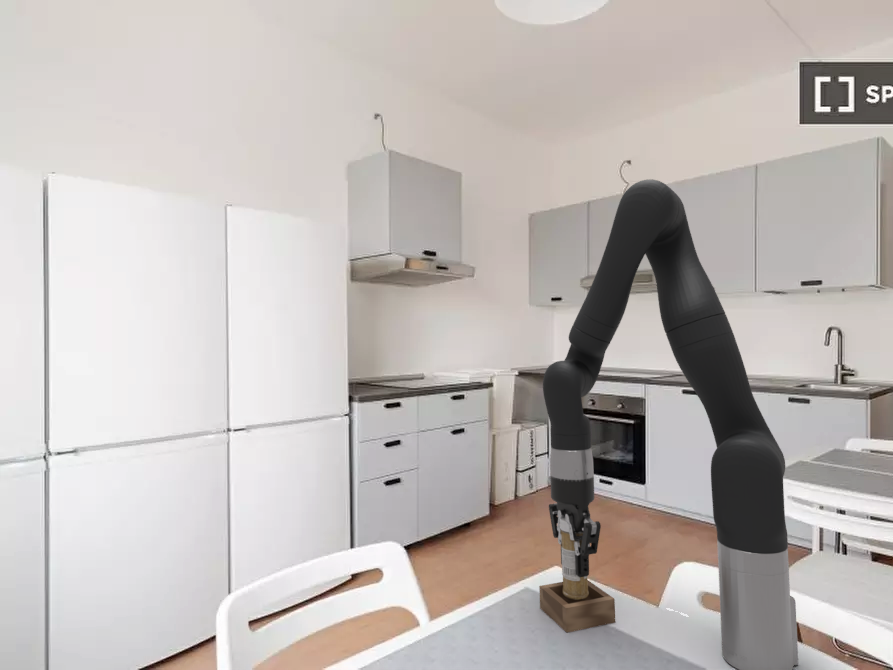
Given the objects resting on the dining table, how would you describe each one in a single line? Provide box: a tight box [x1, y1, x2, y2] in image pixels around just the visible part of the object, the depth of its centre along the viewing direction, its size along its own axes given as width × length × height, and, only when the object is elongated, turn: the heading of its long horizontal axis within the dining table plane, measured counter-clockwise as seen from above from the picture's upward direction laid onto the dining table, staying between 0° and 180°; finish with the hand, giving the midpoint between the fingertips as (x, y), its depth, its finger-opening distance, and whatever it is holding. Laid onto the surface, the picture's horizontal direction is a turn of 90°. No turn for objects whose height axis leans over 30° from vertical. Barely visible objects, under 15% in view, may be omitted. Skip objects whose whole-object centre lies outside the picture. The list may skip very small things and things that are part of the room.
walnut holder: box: [539, 579, 616, 633], centre depth 98 cm, size 9×9×4 cm
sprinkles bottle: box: [560, 518, 589, 600], centre depth 98 cm, size 5×5×14 cm
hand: (574, 570), depth 98 cm, fingers closed on sprinkles bottle, 4 cm apart
